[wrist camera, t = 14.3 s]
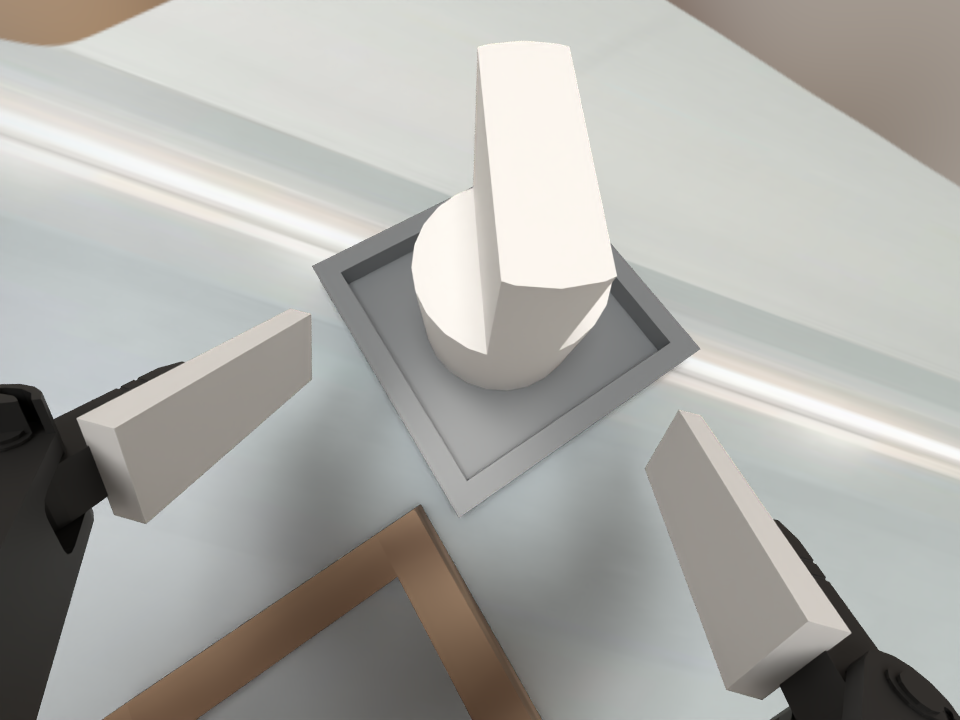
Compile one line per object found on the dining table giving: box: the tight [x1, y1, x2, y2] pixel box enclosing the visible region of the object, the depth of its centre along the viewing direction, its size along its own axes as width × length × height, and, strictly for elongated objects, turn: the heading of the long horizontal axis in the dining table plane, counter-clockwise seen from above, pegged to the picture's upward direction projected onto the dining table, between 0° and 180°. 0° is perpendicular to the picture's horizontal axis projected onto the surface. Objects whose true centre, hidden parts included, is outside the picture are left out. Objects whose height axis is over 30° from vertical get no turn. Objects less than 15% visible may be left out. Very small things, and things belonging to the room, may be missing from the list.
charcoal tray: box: [312, 187, 700, 518], centre depth 22 cm, size 16×16×2 cm
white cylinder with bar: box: [411, 41, 617, 391], centre depth 16 cm, size 9×9×12 cm
